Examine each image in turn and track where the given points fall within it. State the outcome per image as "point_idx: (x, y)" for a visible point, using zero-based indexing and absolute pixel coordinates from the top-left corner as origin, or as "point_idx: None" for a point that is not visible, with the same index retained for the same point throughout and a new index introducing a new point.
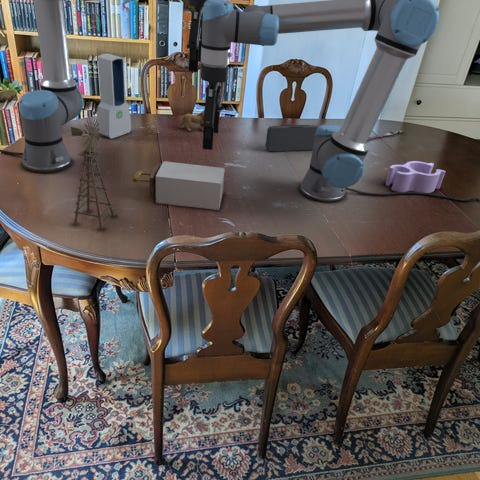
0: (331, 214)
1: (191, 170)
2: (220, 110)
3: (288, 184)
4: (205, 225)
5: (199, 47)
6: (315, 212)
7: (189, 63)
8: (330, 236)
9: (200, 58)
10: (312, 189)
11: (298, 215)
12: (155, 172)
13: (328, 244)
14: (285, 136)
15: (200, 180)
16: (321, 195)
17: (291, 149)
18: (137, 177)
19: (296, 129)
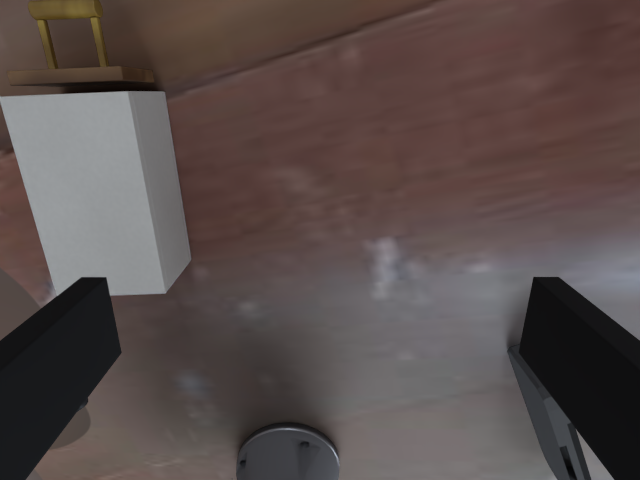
0: (189, 472)
1: (99, 202)
2: None
3: (304, 398)
4: (17, 244)
5: (636, 396)
6: (185, 447)
7: (37, 319)
8: (100, 467)
9: (543, 328)
10: (246, 458)
11: (157, 418)
12: (52, 81)
13: (69, 463)
14: (541, 417)
15: (45, 241)
16: (236, 469)
17: (526, 405)
18: (44, 16)
19: (561, 459)
